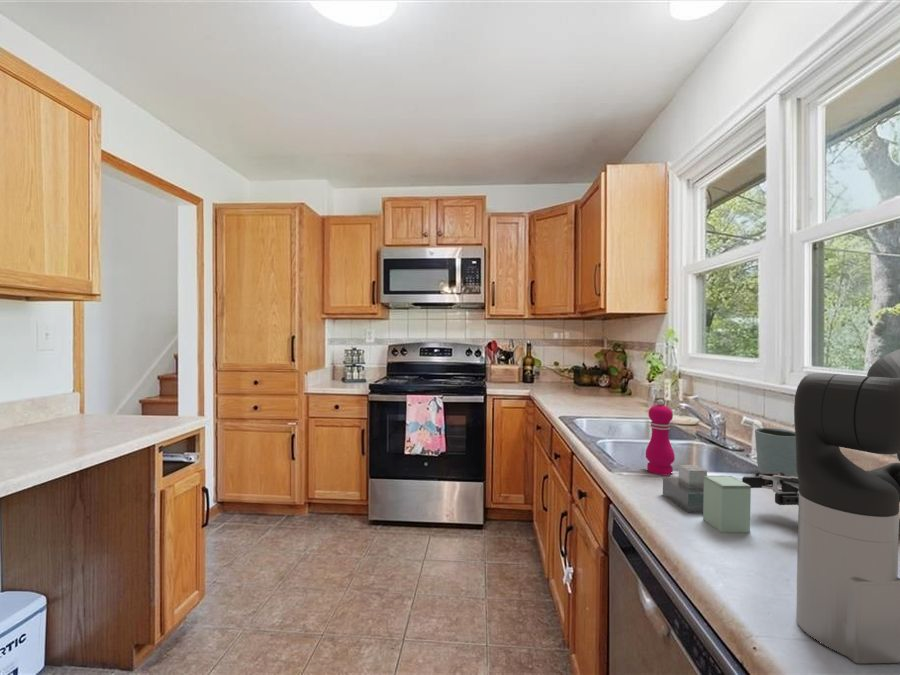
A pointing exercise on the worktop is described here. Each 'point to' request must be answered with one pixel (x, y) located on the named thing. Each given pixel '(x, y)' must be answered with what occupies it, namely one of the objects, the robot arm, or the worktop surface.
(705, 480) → the tall mint pillar
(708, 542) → the worktop surface
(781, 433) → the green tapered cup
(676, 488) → the grey step block
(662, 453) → the pepper mill
